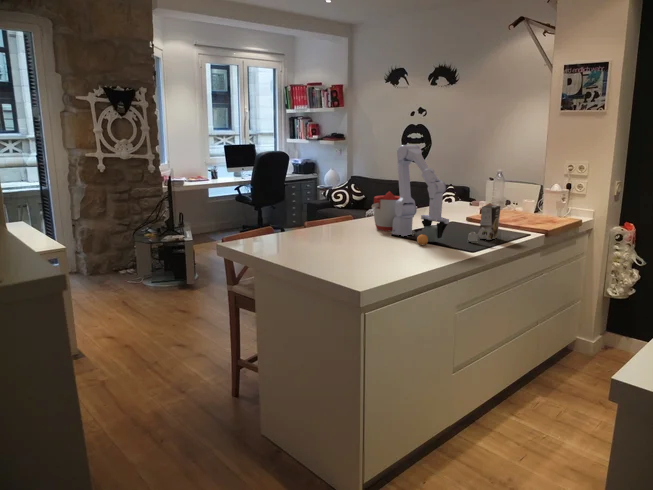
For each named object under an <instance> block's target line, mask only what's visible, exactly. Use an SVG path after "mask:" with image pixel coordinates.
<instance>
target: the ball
mask: <svg viewBox="0 0 653 490" xmlns="http://www.w3.org/2000/svg"><path fill="white" fill-rule="evenodd" d="M416 241H417V243H418V244H419V245H420V246H425V245H427V244H428V242H429V240H428V237H427V236H426V235H424V233H423V234H422V233H421V234H419V235H418V236H417V237H416Z"/></svg>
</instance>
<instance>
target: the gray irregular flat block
mask: <svg viewBox="0 0 653 490" xmlns="http://www.w3.org/2000/svg"><path fill="white" fill-rule="evenodd" d="M484 230H485V229H484V228H483V227H482V228H481V229H480V228H479V230H478V233H476V232H475V231H471V232H470V233H468V236H467V241H468V240H469V241H478V240H479V236H481V234H482V233H483V231H484Z"/></svg>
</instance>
